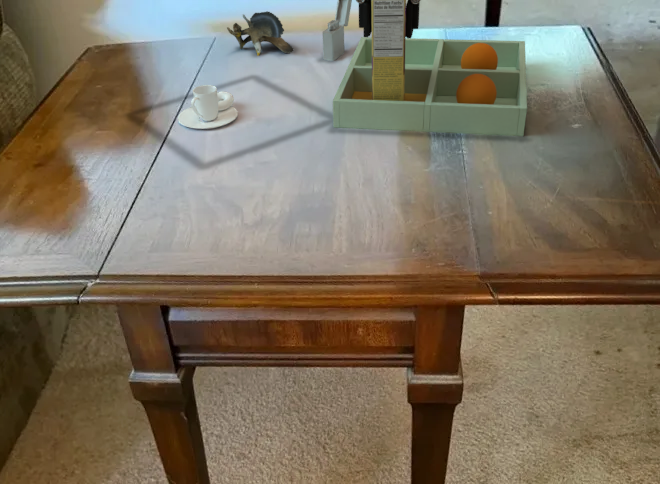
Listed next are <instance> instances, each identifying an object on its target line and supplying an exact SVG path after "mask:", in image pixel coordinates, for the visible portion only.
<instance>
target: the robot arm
mask: <svg viewBox="0 0 660 484" xmlns="http://www.w3.org/2000/svg"><path fill="white" fill-rule="evenodd" d="M355 1H356V3H358V28H359V29H363V37H366V38H367V37H371V35H372V5H371V0H355ZM420 3H421V0H406V33H405V38H413V33H414V30H418V29H419V26H420V6H421V4H420Z"/></svg>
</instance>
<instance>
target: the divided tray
mask: <svg viewBox="0 0 660 484" xmlns="http://www.w3.org/2000/svg"><path fill="white" fill-rule="evenodd" d="M476 43H485V44H488V45H490V46H491V47H492V48H493V49H494V50H495V51H496V53H497V57H498V65H497V68H496V70H486V69H462V68H461V58H462V55H463V53H464V52H465V50H466V49H467V48H468V47H470V46H471V45H473V44H476ZM349 61H350V62H349V64H348V66H347V68H346V70H345V72H344V75H343V77H342V80H341V81H340V83H339V86H338V88H337V91H336V93H335V96H334V98H333V99H332V121H333V122H332V123H333V129H354V130H376V131H378V130H379V131H399V132H400V131H401V132H417V133H418V132H419V133H420V132H421V133H439V134H440V133H442V134H443V133H444V134H445V133H446V134H461V135H463V134H464V135H465V134H466V135H484V136H487V135H488V136H510V137H512V136H513V137H524V135H525V126H526V122H527V121H526V120H527V112H528V92H527V64H526V41H525V40H496V39H495V40H491V39H488V40H487V39H453V38H451V39H450V38H447V39H446V38H445V39H444V38H413V37H411V38H407V37H405V88H404V101H386V100H372V36H368V37H364V36H361V37H360V40H359V41H358V44H357V46H356V48H355V51H354V52H353V54H352V56H351V59H350V60H349ZM472 74H483V75H486V76H487V77H489V78H490V79H491V80H492V81H493V82H494V84H495V87H496V92H497V95H496V100H495V102H494V104H493V105H490V104H464V103H457V99H456V92H457V88H458V86H459V84H460V83H461V81H462V80H463V79H464V78H466V77H467V76H469V75H472Z"/></svg>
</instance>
